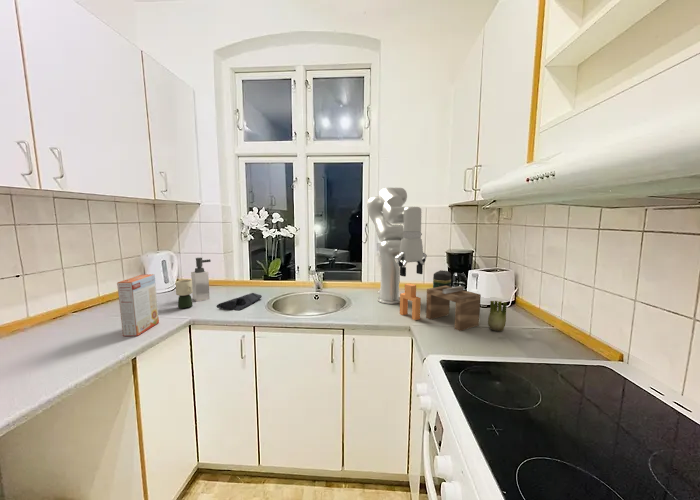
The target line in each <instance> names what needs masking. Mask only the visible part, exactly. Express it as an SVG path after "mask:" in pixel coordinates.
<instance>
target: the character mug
mask: <svg viewBox="0 0 700 500" xmlns="http://www.w3.org/2000/svg"><path fill="white" fill-rule="evenodd" d="M174 284H175V294H176V296H178V300H177V301H178V302H177V307H178V308H179V309H183V308H184V309H185V308H187V309H188V308H190V307H193V298H192V295H191V294H192V292H193V290H192V279H180V280H176V281H175V282H174Z"/></svg>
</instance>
